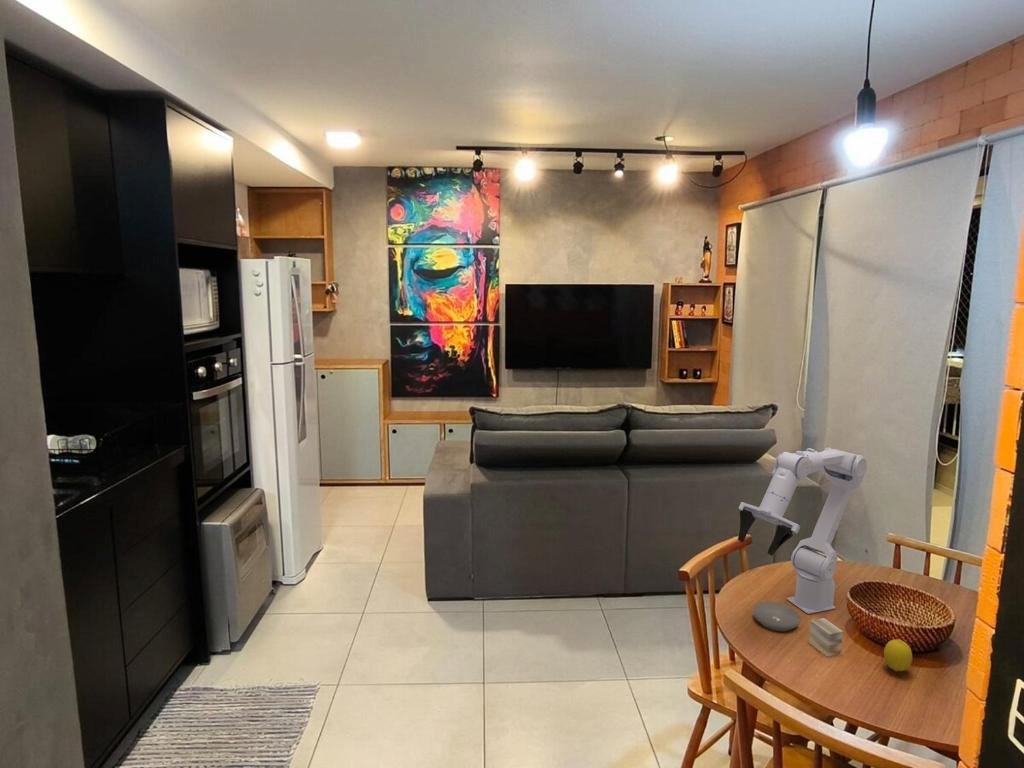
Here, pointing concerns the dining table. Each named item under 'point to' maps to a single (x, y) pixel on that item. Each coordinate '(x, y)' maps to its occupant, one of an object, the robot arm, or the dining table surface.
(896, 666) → the lemon
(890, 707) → the dining table surface
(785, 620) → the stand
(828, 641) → the block
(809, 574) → the robot arm
